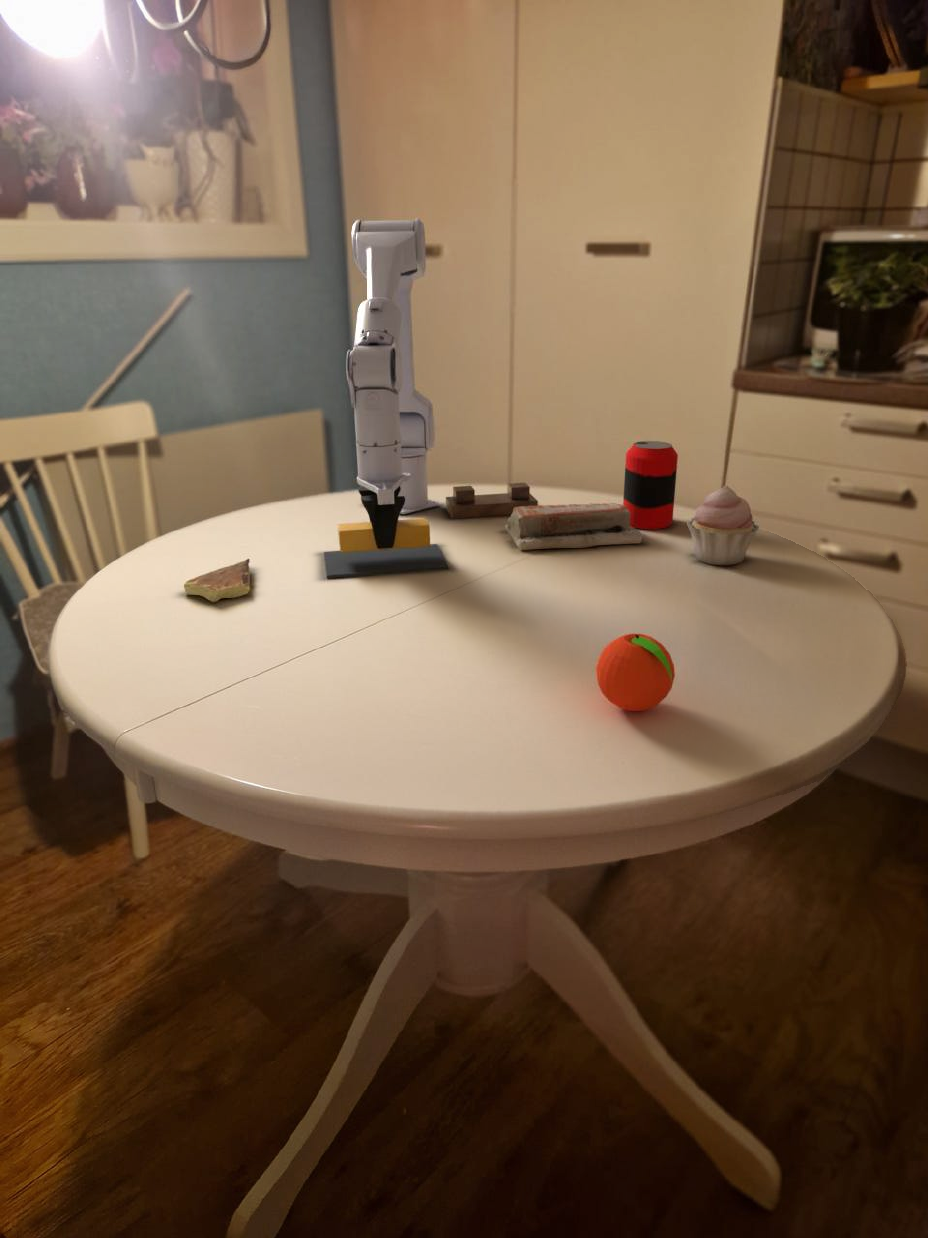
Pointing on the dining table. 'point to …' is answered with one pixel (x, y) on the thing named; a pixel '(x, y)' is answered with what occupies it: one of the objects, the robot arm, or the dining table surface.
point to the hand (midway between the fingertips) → (383, 543)
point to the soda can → (650, 484)
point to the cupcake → (722, 528)
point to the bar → (363, 539)
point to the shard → (221, 582)
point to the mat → (384, 561)
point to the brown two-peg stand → (488, 501)
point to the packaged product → (571, 526)
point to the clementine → (635, 672)
